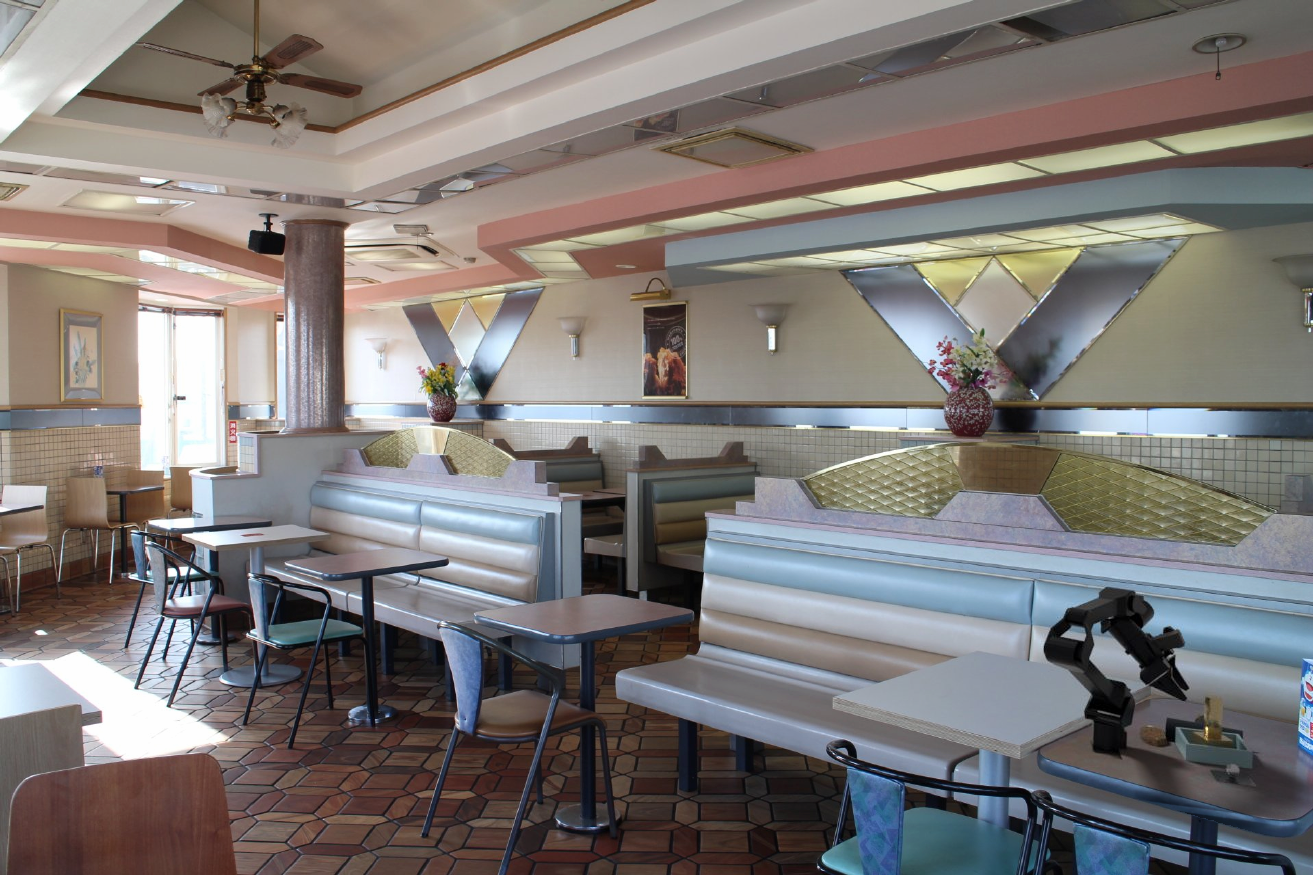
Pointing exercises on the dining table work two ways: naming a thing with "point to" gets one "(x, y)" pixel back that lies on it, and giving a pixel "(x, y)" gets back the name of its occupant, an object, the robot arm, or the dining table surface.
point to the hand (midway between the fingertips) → (1186, 694)
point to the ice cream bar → (1153, 736)
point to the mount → (1232, 776)
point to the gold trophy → (1212, 725)
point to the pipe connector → (1191, 726)
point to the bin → (1214, 750)
